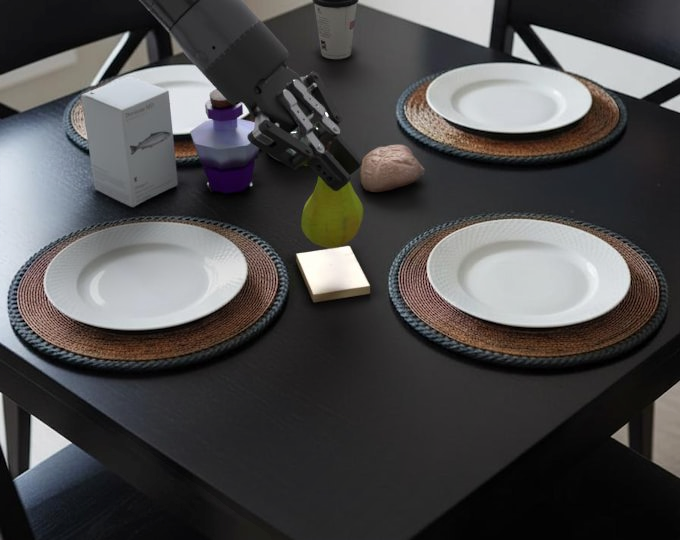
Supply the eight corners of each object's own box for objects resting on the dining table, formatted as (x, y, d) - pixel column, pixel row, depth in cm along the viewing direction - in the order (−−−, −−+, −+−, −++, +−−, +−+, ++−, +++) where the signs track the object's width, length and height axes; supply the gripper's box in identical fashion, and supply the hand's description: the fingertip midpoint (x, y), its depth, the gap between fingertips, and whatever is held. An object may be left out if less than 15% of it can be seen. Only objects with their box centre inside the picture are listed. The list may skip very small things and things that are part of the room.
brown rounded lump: (413, 161, 132) (353, 151, 129) (431, 132, 127) (369, 122, 124) (418, 211, 128) (356, 202, 126) (437, 184, 123) (372, 174, 121)
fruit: (341, 221, 112) (340, 118, 105) (374, 247, 107) (375, 141, 101) (289, 238, 109) (285, 134, 102) (321, 265, 104) (318, 158, 98)
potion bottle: (238, 160, 132) (232, 71, 126) (279, 186, 127) (275, 94, 120) (180, 182, 128) (170, 90, 121) (220, 209, 122) (212, 115, 115)
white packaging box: (133, 209, 122) (119, 110, 115) (93, 189, 126) (78, 92, 119) (180, 186, 127) (170, 89, 120) (140, 167, 131) (128, 73, 124)
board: (313, 302, 106) (313, 294, 106) (296, 261, 113) (295, 253, 112) (370, 293, 107) (370, 285, 107) (349, 253, 114) (349, 245, 113)
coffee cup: (315, 63, 159) (313, -2, 153) (312, 46, 164) (310, -17, 159) (361, 61, 159) (361, -4, 154) (356, 44, 165) (356, -19, 159)
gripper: (220, 47, 92) (351, 191, 95) (282, -4, 103) (397, 127, 106) (172, 94, 96) (298, 231, 100) (236, 41, 107) (348, 165, 110)
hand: (349, 177), depth 103 cm, fingers closed on fruit, 2 cm apart
